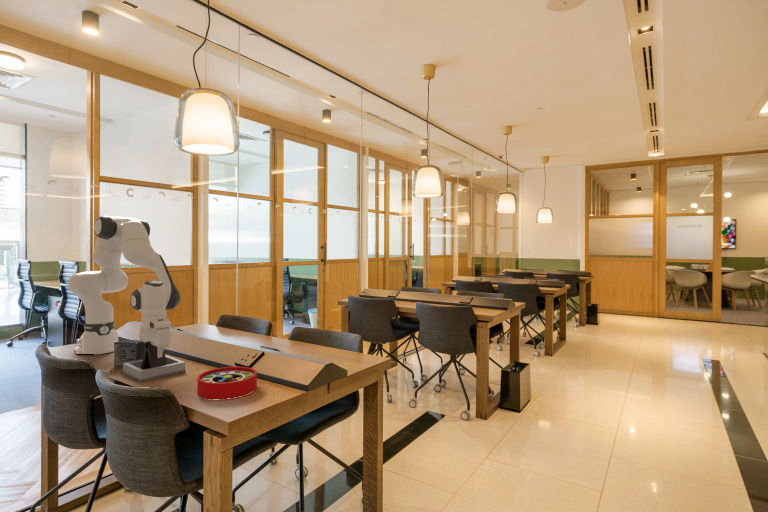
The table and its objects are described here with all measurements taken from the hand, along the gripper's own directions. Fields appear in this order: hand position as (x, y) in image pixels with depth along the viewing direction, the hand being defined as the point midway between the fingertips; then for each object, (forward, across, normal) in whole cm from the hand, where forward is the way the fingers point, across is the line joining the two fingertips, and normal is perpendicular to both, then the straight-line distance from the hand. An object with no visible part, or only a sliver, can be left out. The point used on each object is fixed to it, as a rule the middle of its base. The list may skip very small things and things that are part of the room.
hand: (154, 355), depth 169 cm
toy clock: (+8, +41, +8) cm, 43 cm away
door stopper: (+6, 0, 0) cm, 6 cm away
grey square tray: (+7, 0, 0) cm, 7 cm away
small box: (+7, -18, -2) cm, 20 cm away
